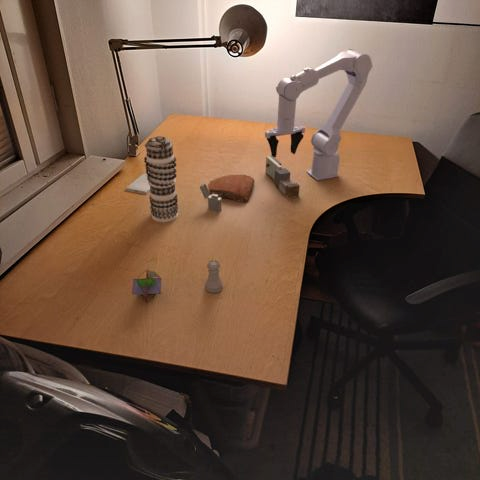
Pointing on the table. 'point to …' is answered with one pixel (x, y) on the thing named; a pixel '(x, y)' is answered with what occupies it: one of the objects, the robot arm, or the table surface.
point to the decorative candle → (161, 179)
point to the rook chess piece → (213, 277)
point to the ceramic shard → (232, 187)
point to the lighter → (211, 199)
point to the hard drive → (140, 185)
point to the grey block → (281, 175)
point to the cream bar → (271, 166)
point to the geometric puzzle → (147, 284)
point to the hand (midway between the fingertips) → (283, 154)
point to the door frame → (288, 185)
